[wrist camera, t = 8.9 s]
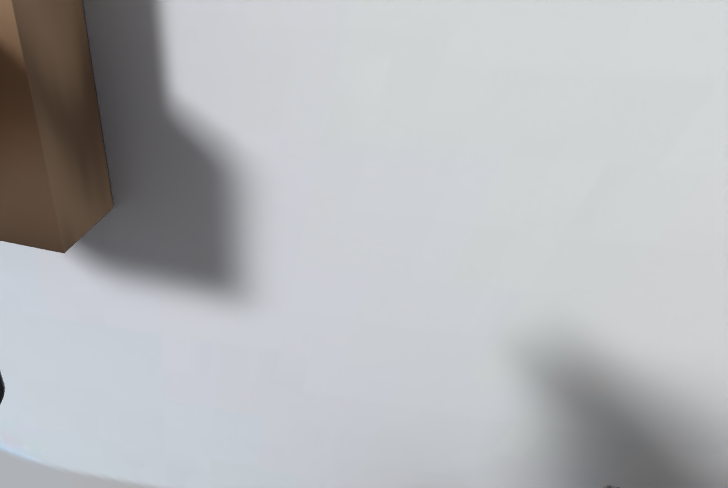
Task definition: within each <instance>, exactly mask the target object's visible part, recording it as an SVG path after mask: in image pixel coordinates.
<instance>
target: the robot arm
mask: <svg viewBox="0 0 728 488" xmlns="http://www.w3.org/2000/svg"><path fill="white" fill-rule="evenodd" d="M4 392H5V386H4V382H3V379H2V375H1V372H0V404H1V402H2V399H3V397H4ZM604 488H619V487H615V486H605V487H604Z"/></svg>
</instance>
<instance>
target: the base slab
mask: <svg viewBox="0 0 728 488" xmlns="http://www.w3.org/2000/svg"><path fill="white" fill-rule="evenodd" d="M112 208H113V201H112V195H111V188H110V182H109V175H108V168H107V162H106V155H105V149H104V142H103V135H102V129H101V122H100V116H99V109H98V103H97V96H96V89H95V83H94V76H93V70H92V63H91V56H90V50H89V43H88V37H87V30H86V23H85V17H84V10H83V4H82V0H0V241H5V242H10V243H15V244H20V245H25V246H30V247H35V248H40V249H45V250H50V251H55V252H60V253H65V252H66V251H67V250H68V249H69V248H71V247H72V246H73V245H74V244H75V243H76V242H77V241H78V240H79V239H80V238H81V237H82V236H83V235H84V234H85V233H87V232H88V231H89V230H90V229H91V228H92V227H93V226H94V225H95V224H96V223H97V222H98V221H99V220H100V219H102V218H103V217H104V216H105V215H106V214H107V213H108V212H109V211H110V210H111V209H112Z"/></svg>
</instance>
